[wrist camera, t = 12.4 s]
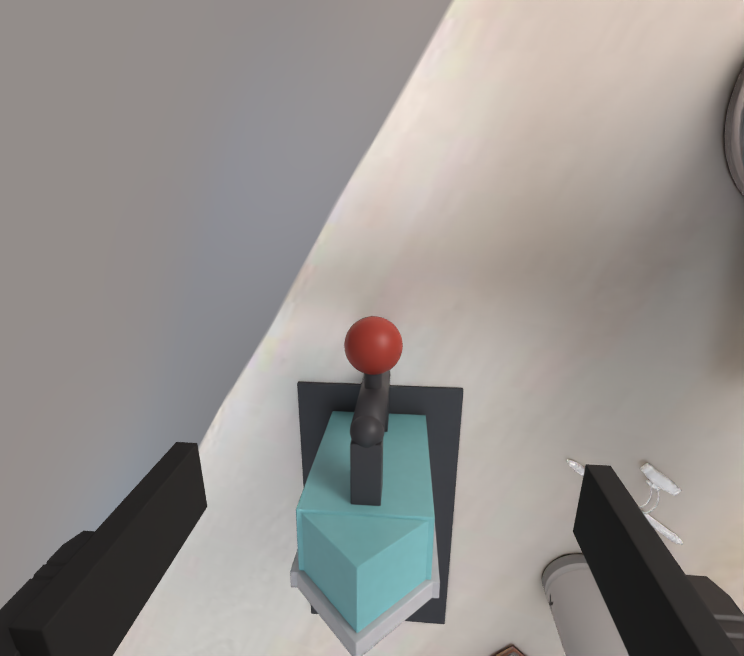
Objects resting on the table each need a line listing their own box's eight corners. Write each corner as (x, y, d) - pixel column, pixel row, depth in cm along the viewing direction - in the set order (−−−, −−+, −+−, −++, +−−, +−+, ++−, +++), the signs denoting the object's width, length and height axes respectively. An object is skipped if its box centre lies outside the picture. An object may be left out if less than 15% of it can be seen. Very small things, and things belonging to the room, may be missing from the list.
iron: (444, 669, 22) (464, 379, 17) (270, 653, 22) (249, 372, 18) (428, 470, 38) (437, 297, 34) (328, 465, 39) (324, 294, 34)
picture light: (562, 460, 37) (571, 476, 35) (600, 426, 36) (611, 441, 34) (676, 543, 39) (690, 562, 37) (716, 514, 38) (733, 532, 36)
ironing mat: (462, 387, 36) (463, 390, 35) (444, 620, 45) (444, 624, 44) (298, 381, 37) (297, 383, 36) (312, 610, 46) (311, 613, 45)
